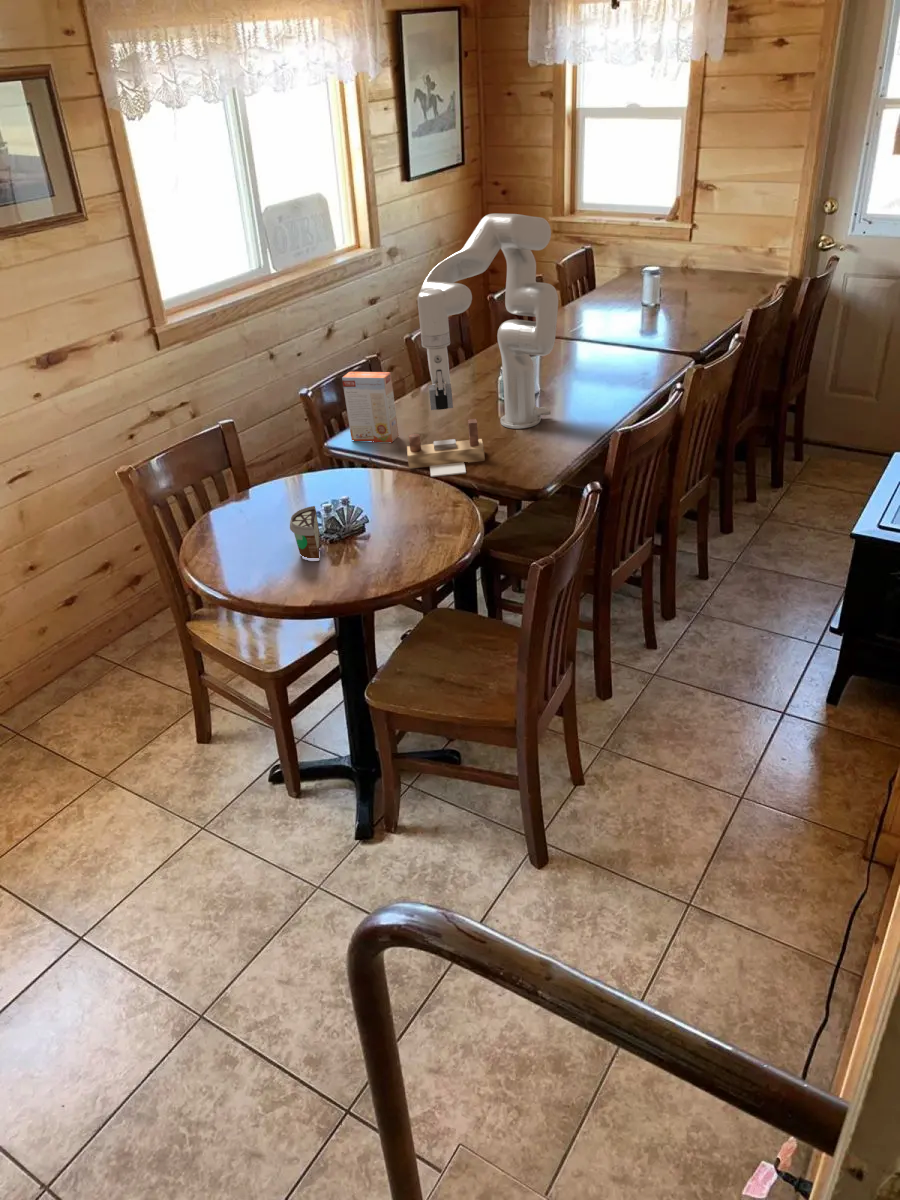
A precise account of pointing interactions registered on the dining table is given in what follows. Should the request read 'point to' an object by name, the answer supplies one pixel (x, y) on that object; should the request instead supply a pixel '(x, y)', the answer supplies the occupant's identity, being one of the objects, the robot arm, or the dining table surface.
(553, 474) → the dining table surface
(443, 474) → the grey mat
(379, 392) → the cracker box
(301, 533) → the lidded drink cup
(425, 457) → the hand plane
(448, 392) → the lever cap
